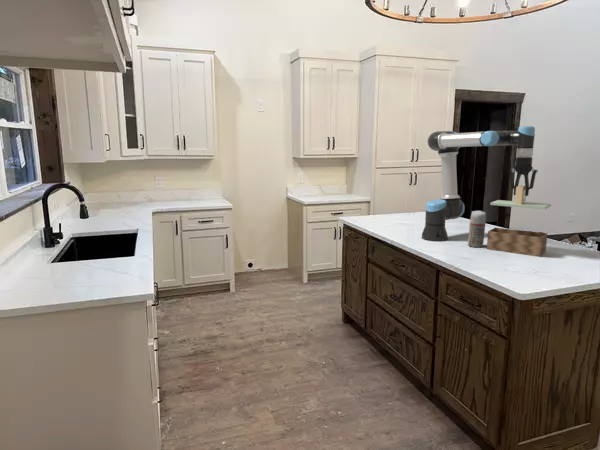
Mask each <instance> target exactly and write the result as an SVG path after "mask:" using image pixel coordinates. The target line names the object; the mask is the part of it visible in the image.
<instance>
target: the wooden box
mask: <svg viewBox="0 0 600 450" xmlns="http://www.w3.org/2000/svg"><path fill="white" fill-rule="evenodd" d="M547 241H548V233H546V232H538V231H530V230H529V231H527V230H520V229H513V228H511V229H510V228H509V229H508V228H503V227H493V228H492V229H489V230H488V231H487V243H486V250H491V251H497V252H498V251H499V252H503V253H509V254H510V253H511V254H519V255H523V256H531V257H532V256H533V257H539V258H541V257H542V256H543V255H545V253H546V250H547V243H548V242H547Z"/></svg>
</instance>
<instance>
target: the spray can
mask: <svg viewBox="0 0 600 450" xmlns="http://www.w3.org/2000/svg"><path fill="white" fill-rule="evenodd" d="M486 219H487V213H486V212H485V211H483V210H474V211H473V210H471V215H470V221H469V229H468V239H467V240H468V242H467V246H469V247H472V248H483V246H484V241H485V239H484V238H485V231H486Z"/></svg>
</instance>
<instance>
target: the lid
mask: <svg viewBox="0 0 600 450" xmlns="http://www.w3.org/2000/svg"><path fill="white" fill-rule="evenodd" d="M524 190H525V185H518V187H516V197H515V196H514V200H502V199H497V200H494V201H491V202H489V203H490V204H489V205H490V206H499V207H512V208H523V209H525V208H526V209H537V210H546V209H549V208H550V207H551V206H552V204H551V203H545V202H544V203H541V202H527V201H526V202H523V193H524Z"/></svg>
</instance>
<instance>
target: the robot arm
mask: <svg viewBox="0 0 600 450" xmlns="http://www.w3.org/2000/svg"><path fill="white" fill-rule="evenodd" d="M517 129H518V130H487V131H475V132H474V131H471V132H456V131H453V130H448V131H447V130H446V131H445V130H443V131H442V130H441V131H440V130H439V131H438V130H437V131H434V132H432V133H431V134H430V135H429V136H428V138H427V145H428V147H429V148H430V150H432V151H436V152H437V154H438V156H439V157H440V162H441V165H440V167H441V180H442V181H441V182H442V183H441V184H442V196H441V197H440V199H430V200H428V201H427V202H426V204H425V206H426V207H425V218H424V220H425V221H424V222H425V224H424V228H423V230H422V233H421V239H423V240H426V241H432V242H443V241H444V242H445V241H447V240H448V237H449V236H448V235H449V234H448V231H447V228H446V221H447V220H448V221H449V220H455V219H459V218H461V217H462V216H463V214H464V213H465V207H466V206H465V204H464V202H463V201H462V200H461V196H460V195H459V194H458V179H457V178H458V176H457V155H458V154H459V149H460V148H464V147H465V148H466V147H493V146H500V147H501V146H516V158H515V164H514V165H515V166H514V167H513V168H509V170H508V172H509V186H510V189H513V196H514V198H515V197H516V187H518V186H519V184H520V180H521V176H523V177H524V186H525V190H524V193H523V202H527V201H526V200H527V197H529V195H530V194H529V192H530V190H532V189H533V188H534V185H535V181H536V180H535V179H536V175H537V173H538V171H539V169H534V168H533V155H534V144H535V143H534V142H535V136H536V134H535V133H536V127H535V126H532V125H529V126H527V125H526V126H525V125H524V126H519V127H518V128H517ZM530 172H531V177H530V180H529V174H530ZM515 173H516V179H515ZM529 181H530V182H529Z"/></svg>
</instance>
